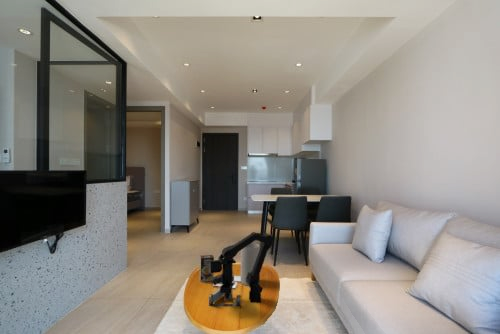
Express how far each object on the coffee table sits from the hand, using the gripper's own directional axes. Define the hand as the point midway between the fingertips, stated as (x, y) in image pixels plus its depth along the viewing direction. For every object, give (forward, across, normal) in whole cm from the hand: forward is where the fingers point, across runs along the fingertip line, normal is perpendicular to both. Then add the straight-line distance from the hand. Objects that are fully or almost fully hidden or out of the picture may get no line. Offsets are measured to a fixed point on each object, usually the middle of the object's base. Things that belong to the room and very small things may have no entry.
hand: (227, 298), depth 157 cm
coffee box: (+4, -34, -18) cm, 38 cm away
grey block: (+3, -6, -6) cm, 9 cm away
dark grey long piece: (+3, +2, -1) cm, 4 cm away
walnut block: (+3, -6, 0) cm, 7 cm away
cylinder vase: (+4, -31, +12) cm, 33 cm away
